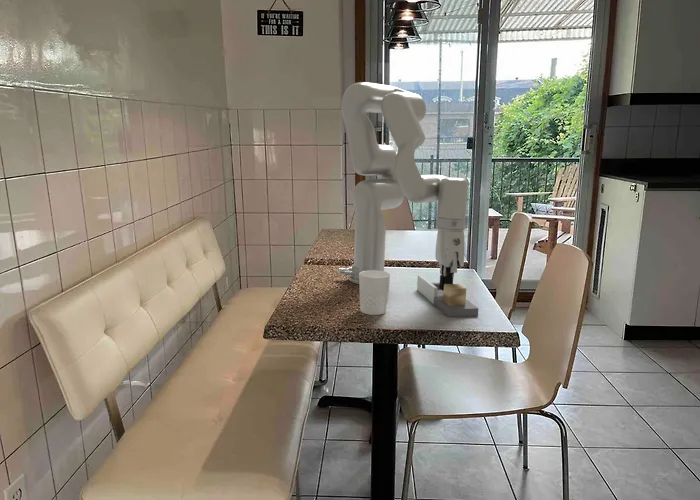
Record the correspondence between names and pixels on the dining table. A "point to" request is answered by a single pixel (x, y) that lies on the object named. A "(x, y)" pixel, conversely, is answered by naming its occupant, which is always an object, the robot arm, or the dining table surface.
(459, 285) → the maple block
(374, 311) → the white cup
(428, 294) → the channel
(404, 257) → the dining table surface
